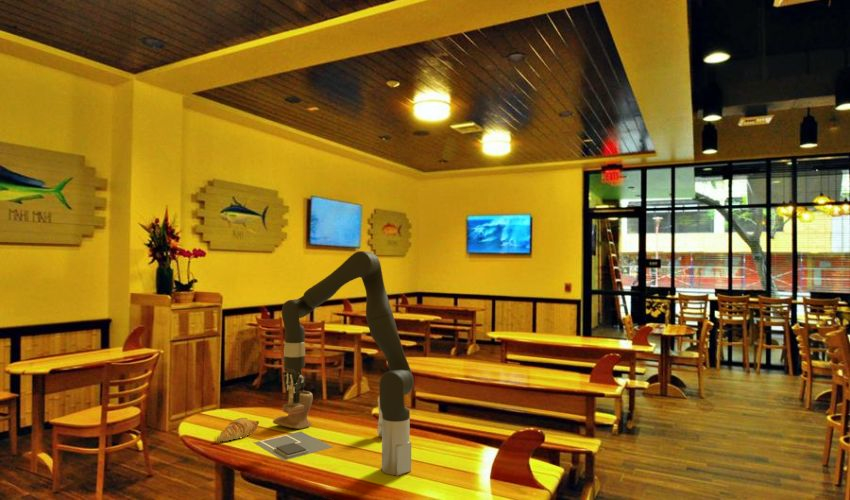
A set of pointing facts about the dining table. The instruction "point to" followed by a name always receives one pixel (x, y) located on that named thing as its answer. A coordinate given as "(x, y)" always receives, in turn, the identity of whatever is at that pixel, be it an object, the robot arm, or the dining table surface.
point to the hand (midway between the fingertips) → (293, 401)
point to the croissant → (238, 429)
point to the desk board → (292, 445)
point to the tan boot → (297, 414)
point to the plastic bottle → (379, 419)
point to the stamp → (292, 404)
